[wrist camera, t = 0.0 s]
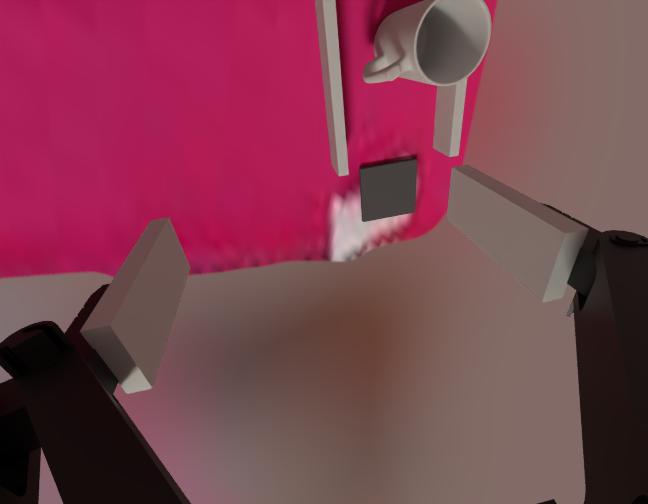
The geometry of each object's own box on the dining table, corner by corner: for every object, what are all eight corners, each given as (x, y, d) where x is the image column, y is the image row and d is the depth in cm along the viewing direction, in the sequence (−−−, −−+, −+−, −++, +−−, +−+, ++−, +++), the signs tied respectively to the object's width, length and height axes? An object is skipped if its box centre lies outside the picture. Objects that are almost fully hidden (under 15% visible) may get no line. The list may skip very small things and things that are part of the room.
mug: (417, -7, 34) (483, -31, 24) (434, 58, 38) (497, 60, 28) (335, 45, 35) (365, 42, 25) (359, 103, 39) (394, 120, 29)
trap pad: (359, 168, 43) (360, 169, 43) (415, 158, 44) (416, 159, 44) (362, 220, 48) (363, 221, 47) (413, 210, 48) (414, 212, 48)
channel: (302, -121, 28) (309, -147, 25) (464, -136, 30) (494, -163, 26) (331, 165, 43) (339, 176, 39) (441, 146, 44) (458, 155, 40)
